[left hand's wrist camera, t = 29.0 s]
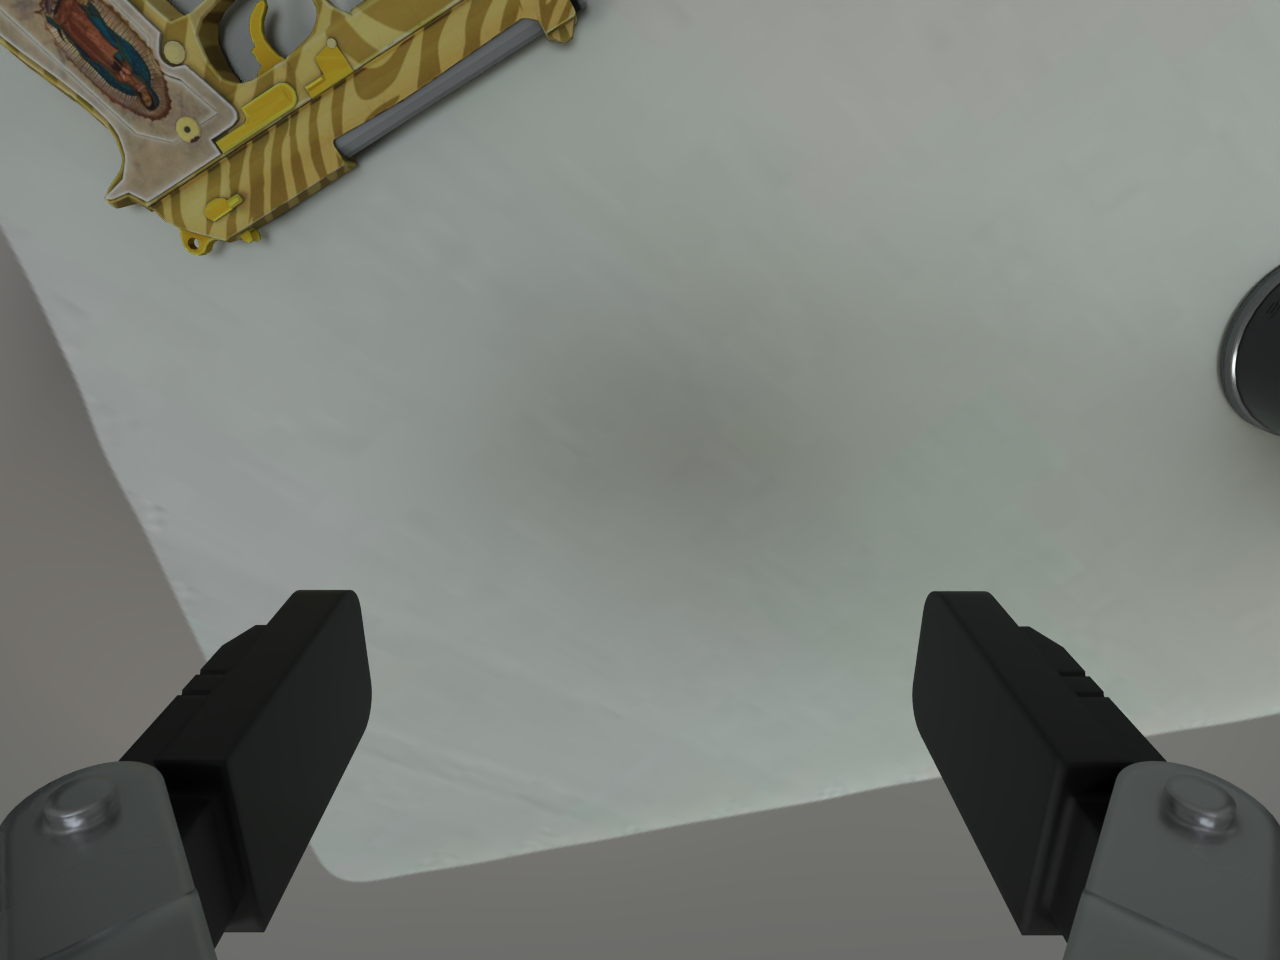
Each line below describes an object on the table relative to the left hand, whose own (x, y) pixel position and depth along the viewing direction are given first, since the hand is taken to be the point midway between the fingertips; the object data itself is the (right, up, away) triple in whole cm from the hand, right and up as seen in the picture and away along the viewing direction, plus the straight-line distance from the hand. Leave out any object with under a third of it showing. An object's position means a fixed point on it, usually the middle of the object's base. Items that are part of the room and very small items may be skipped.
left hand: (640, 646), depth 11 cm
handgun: (-15, +23, +23) cm, 36 cm away
